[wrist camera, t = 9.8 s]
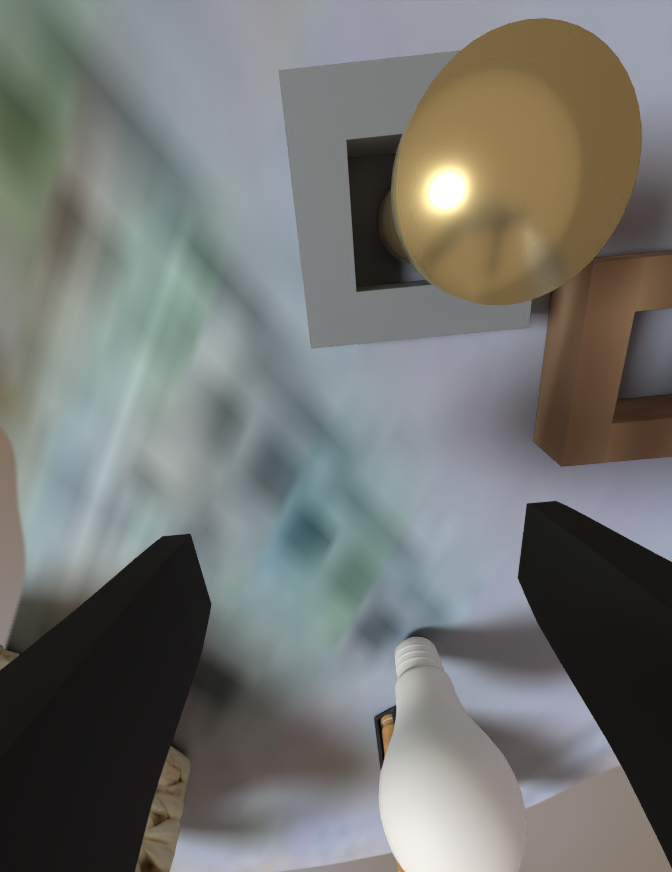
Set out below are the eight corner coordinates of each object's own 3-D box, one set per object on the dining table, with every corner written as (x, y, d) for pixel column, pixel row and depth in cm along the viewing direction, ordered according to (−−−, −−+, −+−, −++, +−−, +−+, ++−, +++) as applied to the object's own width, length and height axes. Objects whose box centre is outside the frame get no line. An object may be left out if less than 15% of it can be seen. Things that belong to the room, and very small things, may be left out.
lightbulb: (438, 589, 23) (525, 846, 13) (477, 651, 25) (577, 912, 15) (345, 628, 24) (359, 893, 14) (390, 685, 26) (430, 949, 16)
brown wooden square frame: (757, 241, 16) (829, 239, 14) (700, 426, 19) (751, 449, 17) (555, 261, 16) (593, 262, 14) (533, 441, 19) (561, 466, 17)
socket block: (519, 76, 14) (558, 39, 11) (501, 317, 17) (528, 327, 15) (286, 101, 14) (278, 70, 11) (313, 336, 17) (311, 348, 15)
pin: (475, 144, 14) (665, -2, 6) (473, 274, 16) (619, 290, 8) (354, 160, 14) (389, 39, 6) (365, 288, 16) (403, 318, 8)
